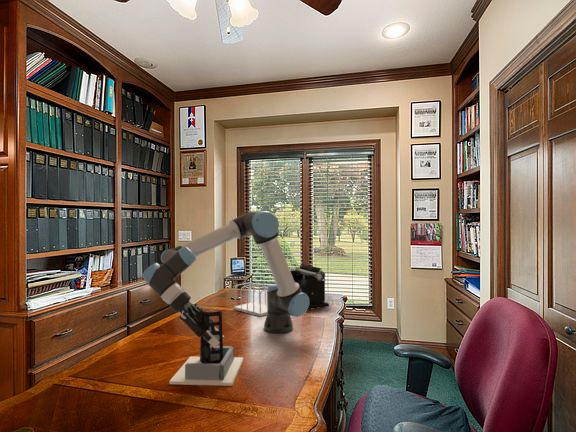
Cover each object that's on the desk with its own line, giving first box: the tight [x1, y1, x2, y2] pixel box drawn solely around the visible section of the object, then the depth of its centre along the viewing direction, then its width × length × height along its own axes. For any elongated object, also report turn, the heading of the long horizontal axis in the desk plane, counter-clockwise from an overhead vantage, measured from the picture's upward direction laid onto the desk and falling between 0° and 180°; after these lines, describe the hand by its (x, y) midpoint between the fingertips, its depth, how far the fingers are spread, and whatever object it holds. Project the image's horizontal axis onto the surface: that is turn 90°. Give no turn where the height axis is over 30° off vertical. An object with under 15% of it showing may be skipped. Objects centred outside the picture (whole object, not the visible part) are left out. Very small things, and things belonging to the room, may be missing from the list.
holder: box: [199, 307, 224, 364], centre depth 120 cm, size 11×8×20 cm
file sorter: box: [233, 281, 269, 317], centre depth 200 cm, size 25×17×16 cm
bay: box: [168, 345, 245, 387], centre depth 119 cm, size 22×20×6 cm
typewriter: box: [290, 263, 330, 310], centre depth 215 cm, size 31×27×25 cm
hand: (219, 342), depth 119 cm, fingers closed on holder, 5 cm apart
